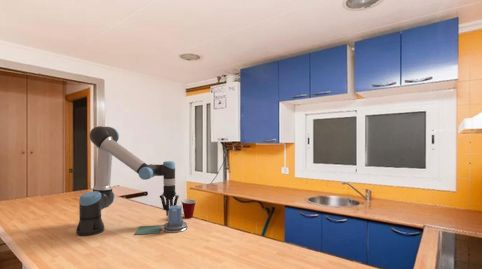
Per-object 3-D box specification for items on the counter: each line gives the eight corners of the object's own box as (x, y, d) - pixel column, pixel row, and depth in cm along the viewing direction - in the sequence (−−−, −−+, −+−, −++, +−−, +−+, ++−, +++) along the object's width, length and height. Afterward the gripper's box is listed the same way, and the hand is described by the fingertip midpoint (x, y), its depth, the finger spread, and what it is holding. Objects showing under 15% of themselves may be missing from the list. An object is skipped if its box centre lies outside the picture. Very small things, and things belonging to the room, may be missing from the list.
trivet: (134, 235, 162) (134, 234, 162) (139, 227, 176) (139, 226, 176) (158, 233, 164) (158, 232, 164) (162, 226, 178) (162, 225, 178)
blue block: (168, 228, 166) (168, 210, 166) (170, 222, 177) (170, 205, 177) (180, 227, 166) (180, 209, 167) (181, 222, 178) (181, 205, 178)
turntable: (162, 231, 165) (162, 223, 165) (166, 221, 184) (166, 215, 184) (186, 230, 167) (185, 222, 167) (187, 220, 186) (187, 214, 186)
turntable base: (161, 233, 165) (161, 232, 165) (164, 225, 179) (164, 224, 179) (186, 232, 166) (186, 230, 166) (188, 224, 181) (188, 223, 181)
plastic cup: (193, 219, 191) (193, 202, 192) (178, 219, 193) (178, 202, 193) (198, 215, 202) (198, 199, 202) (184, 214, 204) (184, 198, 204)
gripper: (157, 185, 179) (157, 222, 179) (176, 185, 177) (176, 222, 177) (162, 183, 186) (162, 218, 186) (180, 183, 185) (181, 219, 184)
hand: (169, 220), depth 182 cm, fingers closed
